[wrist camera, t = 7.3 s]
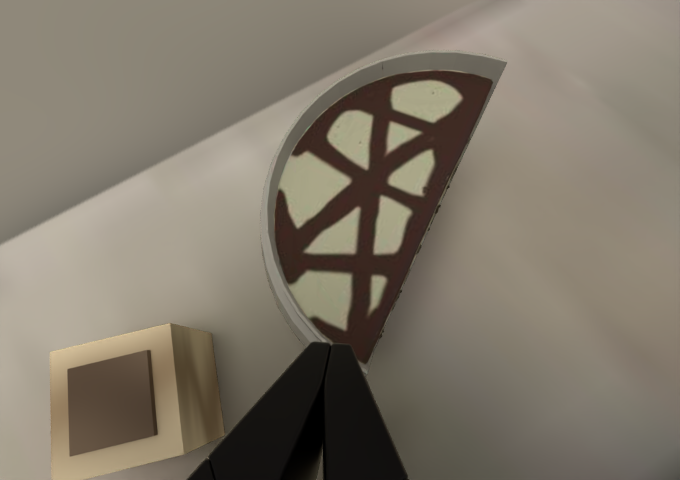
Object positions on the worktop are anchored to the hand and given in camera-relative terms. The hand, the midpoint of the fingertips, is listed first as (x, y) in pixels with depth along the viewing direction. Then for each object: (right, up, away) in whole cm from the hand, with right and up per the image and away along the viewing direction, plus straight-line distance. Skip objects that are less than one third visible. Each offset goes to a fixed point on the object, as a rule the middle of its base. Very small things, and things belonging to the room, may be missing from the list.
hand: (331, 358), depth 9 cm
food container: (+1, +2, +14) cm, 14 cm away
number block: (-8, -5, +12) cm, 16 cm away
